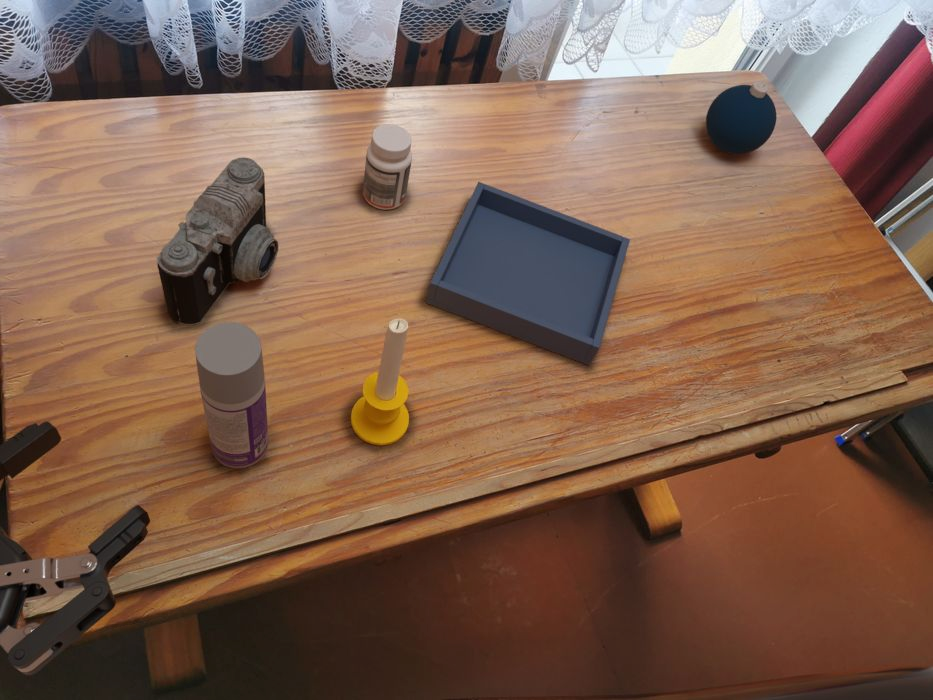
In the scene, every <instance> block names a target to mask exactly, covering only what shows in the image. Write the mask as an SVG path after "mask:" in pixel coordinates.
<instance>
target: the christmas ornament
mask: <svg viewBox="0 0 933 700" xmlns="http://www.w3.org/2000/svg"><path fill="white" fill-rule="evenodd" d="M768 91H769V87H768V85H767V84H766V83H765V82H763V81H754V82H753V83H752V85H750V84H739V85H734V86H731V87H729V88H727V89H725V90H723V91H722V92H720V93H719V94H718V95H717V96H716V97H715V98H714V99H713V101H712V102H711V104H710V105H709V108H708V110H707V112H706V118H705V128H706V129H705V130H706V133H707V135H708V137H709V140H710V141H711V142H712V144H713V145H714V146H715V147H716V148H717V149H719V150H720V151H722V152H724V153H727V154H731V155H744V154H745V155H746V154H749V153H752V152H754V151H756V150H758V149H759V148H761V147H762V146H763V145H764V144H766V143H767V141H769V139H770V138H771V136H772V135H773V132H774V130H775V128H776V124H777V109H776V106H775V103H774V100H773V99H772V97H771V96H770V95H769V94H768Z"/></svg>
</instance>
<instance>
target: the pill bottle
mask: <svg viewBox="0 0 933 700" xmlns="http://www.w3.org/2000/svg"><path fill="white" fill-rule="evenodd" d="M408 131H409V130H408ZM408 131H407V130H406V129H405V128H404V127H402V126H400V125H398V124H393V123H385V124H381V125H378V126H377V127H376V128H374V130H373V131H372V134H371V140H370V143H369V144H368V146H367V149H366V155H365V163H364V164H365V165H364V174H363V175H364V176H363V184H362V195H363V198H364V199H365V201H366V202H367V203H368V204H369V205H370V206H371V207H373V208H376V209H379V210H386V211H387V210H394V209H396V208H398V207H400V206H402V204H403V203H404V202H405V200H406V197H407V192H408V191H407V190H408V184H409V180H410V175H411V173H410V172H411V168H412V163H413V153H412V150H411V149H412V136H411V133H410V132H408Z"/></svg>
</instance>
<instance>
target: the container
mask: <svg viewBox="0 0 933 700" xmlns="http://www.w3.org/2000/svg"><path fill="white" fill-rule="evenodd" d="M262 349H263V348H262V342H261V339H260V337H259V335H258V334H257V332H255V331H254V330H253V329H252V328H251V327H249V326H248V325H245V324H243V323H240V322H237V321H235V322H234V321H224V322H219V323H216V324H213V325H211V326H209V327H207V328H206V329H205V330H203V332H201V334H200V335H199V337H198V338H197V340H196V343H195V347H194V353H195V354H194V355H195V361H196V367H197V375H198V382H199V390H200V395H201V401H202V406H203V411H204V416H205V421H206V427H207V431H208V436H209V441H210V442H209V443H210V447H211V451H212V454H213V456H214V458H215V460H217V461H218V462H219V463H220V464H221V465H223V466H225V467H228V468H230V469H246V468H249V467H252V466H254V465H255V464H258V463H259V462H260V461H261V460H262V459H263V458H264V456H265V455H266V453H267V450H268V447H269V429H268V427H269V426H268V408H267V389H266V378H265V377H266V376H265V368H264V358H263V350H262Z"/></svg>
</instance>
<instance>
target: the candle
mask: <svg viewBox="0 0 933 700" xmlns="http://www.w3.org/2000/svg"><path fill="white" fill-rule="evenodd" d="M408 329H409V323H408V321H407V320H406V319H404V318H394V319H392V320H390V322H389V323H388V325H387V329H386V332H385V337H384V342H383V346H382V352H381V358H380V363H379V367H378V371H375V372H373V373H371V374H370V375H368V376H367V378H366V379H365V380H364V382H363V384H362V396H361V397H360V398H359V399H358V400H357V401H356V402H355V403H354V405H353V407H352V409H351V413H350V424H351V427H352V429H353V432H354V433H355V435H357V437H358V438H359V439H360V440H362V441H363V442H365V443H366V444H370V445H373V446H379V447H380V446H388V445H391V444H394V443H397V442H398V441H399V440H401V439H402V438H403V436H404V435H405V434H406V432H407V430H408V429H409V424H410V415H409V410H408V409H407V407H406V404H405V403H406V402H407V399H408V397H409V391H410V390H409V386H408V383H407V381H406V380H405V379H404V378H403V377H402V376H401V375H400V371H401V367H402V363H403V357H404V352H405V349H406V348H405V347H406V342H407V336H408V331H409V330H408Z"/></svg>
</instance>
